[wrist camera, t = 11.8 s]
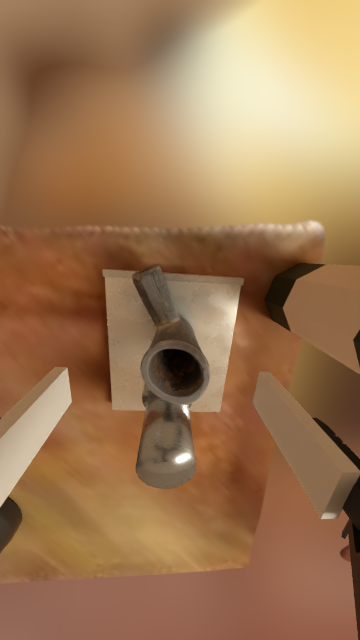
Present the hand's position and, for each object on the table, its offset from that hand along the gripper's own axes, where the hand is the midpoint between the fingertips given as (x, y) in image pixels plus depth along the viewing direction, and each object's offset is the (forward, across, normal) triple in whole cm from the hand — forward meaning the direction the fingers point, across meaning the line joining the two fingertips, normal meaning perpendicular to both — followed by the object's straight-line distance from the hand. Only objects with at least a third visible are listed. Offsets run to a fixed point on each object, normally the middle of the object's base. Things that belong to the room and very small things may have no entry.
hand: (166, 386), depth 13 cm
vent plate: (+13, +1, -3) cm, 13 cm away
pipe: (+11, 0, +2) cm, 11 cm away
